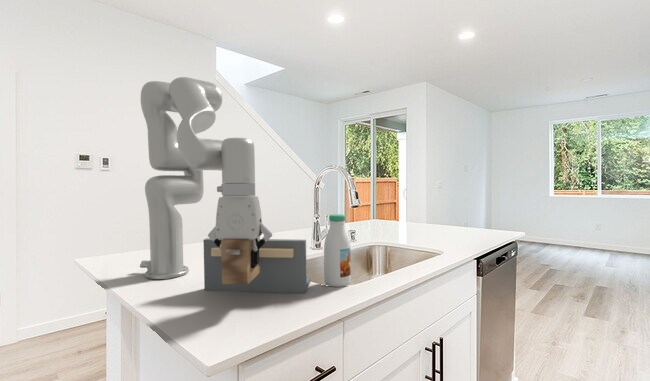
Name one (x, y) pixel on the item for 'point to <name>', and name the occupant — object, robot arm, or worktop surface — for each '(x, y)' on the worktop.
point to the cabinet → (237, 261)
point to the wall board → (263, 268)
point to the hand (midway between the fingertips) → (240, 265)
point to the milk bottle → (337, 253)
